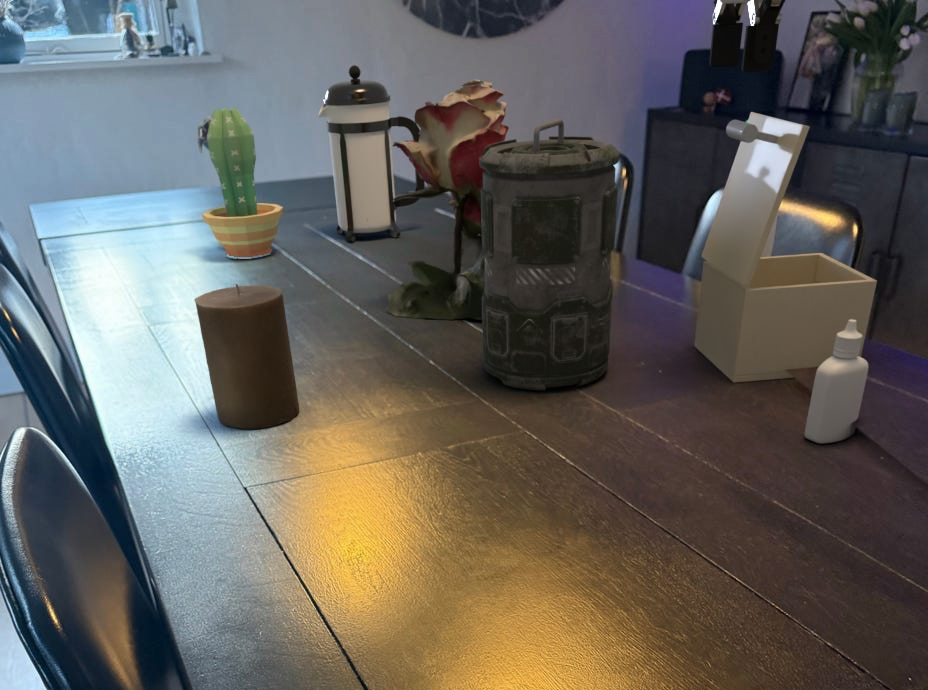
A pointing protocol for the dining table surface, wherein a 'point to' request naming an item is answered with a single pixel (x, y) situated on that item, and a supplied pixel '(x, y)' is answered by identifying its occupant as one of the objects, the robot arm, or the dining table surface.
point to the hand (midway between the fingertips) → (739, 68)
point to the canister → (548, 258)
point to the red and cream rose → (456, 171)
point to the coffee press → (364, 156)
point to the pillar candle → (248, 355)
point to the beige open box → (779, 315)
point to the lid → (753, 193)
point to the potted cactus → (237, 187)
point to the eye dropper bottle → (838, 390)
